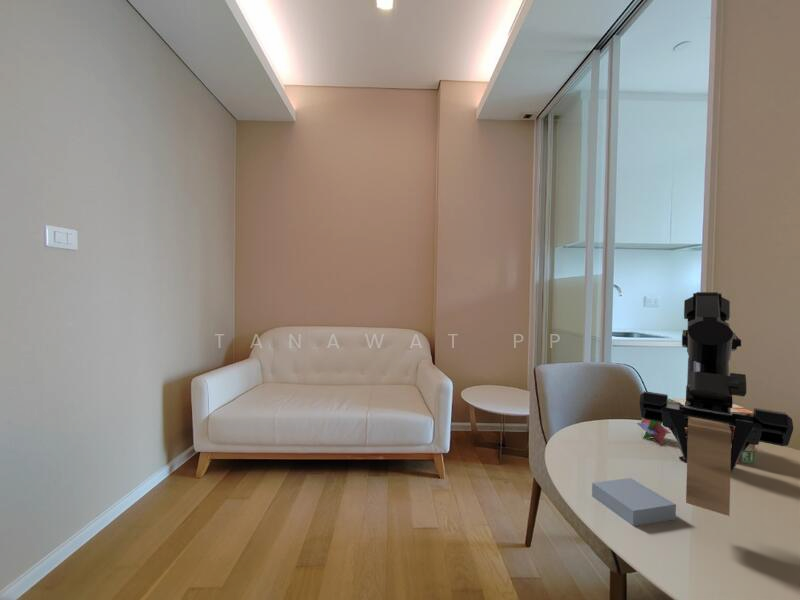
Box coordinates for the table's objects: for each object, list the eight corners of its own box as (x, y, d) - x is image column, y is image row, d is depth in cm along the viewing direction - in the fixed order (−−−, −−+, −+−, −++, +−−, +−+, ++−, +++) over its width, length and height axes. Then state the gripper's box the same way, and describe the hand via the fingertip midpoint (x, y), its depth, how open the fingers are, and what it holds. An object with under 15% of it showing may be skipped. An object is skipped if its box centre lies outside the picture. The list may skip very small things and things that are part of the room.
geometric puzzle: (683, 438, 91) (666, 408, 96) (661, 440, 89) (645, 409, 94) (661, 446, 97) (646, 417, 101) (641, 447, 95) (626, 418, 100)
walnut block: (686, 490, 59) (688, 416, 59) (727, 501, 56) (729, 423, 56) (686, 502, 55) (687, 424, 55) (729, 516, 52) (731, 432, 52)
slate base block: (630, 492, 69) (630, 477, 69) (675, 521, 61) (675, 504, 61) (591, 498, 67) (592, 482, 67) (632, 528, 59) (633, 510, 58)
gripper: (641, 347, 65) (632, 422, 56) (792, 360, 52) (808, 458, 44) (645, 382, 71) (637, 455, 62) (781, 401, 59) (793, 494, 50)
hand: (707, 464), depth 55 cm, fingers closed on walnut block, 5 cm apart
